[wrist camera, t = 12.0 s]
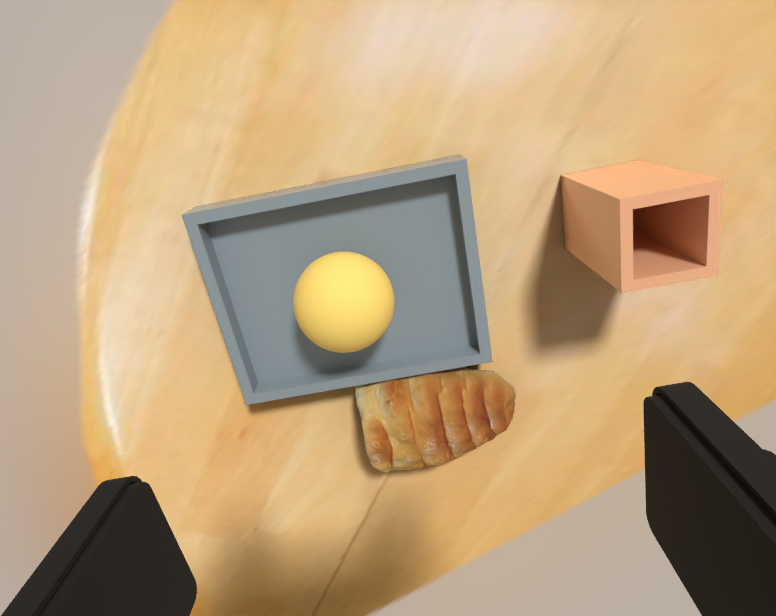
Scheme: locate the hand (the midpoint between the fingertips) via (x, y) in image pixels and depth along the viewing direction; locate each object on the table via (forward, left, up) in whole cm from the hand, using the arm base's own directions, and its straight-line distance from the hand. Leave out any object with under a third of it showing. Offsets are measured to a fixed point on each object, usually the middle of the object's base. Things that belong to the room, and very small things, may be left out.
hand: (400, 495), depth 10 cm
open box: (-12, +1, -20) cm, 23 cm away
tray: (+2, +2, -20) cm, 20 cm away
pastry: (0, +11, -20) cm, 23 cm away
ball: (+3, +2, -16) cm, 17 cm away
